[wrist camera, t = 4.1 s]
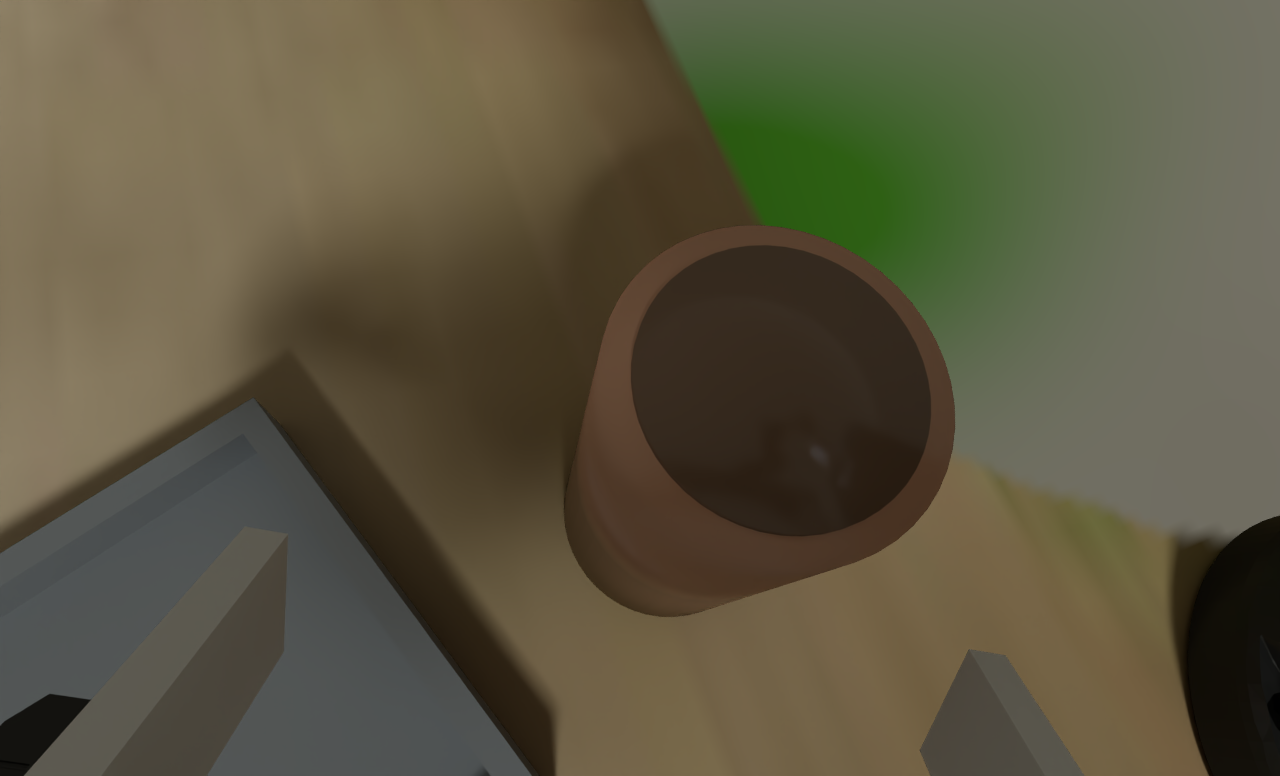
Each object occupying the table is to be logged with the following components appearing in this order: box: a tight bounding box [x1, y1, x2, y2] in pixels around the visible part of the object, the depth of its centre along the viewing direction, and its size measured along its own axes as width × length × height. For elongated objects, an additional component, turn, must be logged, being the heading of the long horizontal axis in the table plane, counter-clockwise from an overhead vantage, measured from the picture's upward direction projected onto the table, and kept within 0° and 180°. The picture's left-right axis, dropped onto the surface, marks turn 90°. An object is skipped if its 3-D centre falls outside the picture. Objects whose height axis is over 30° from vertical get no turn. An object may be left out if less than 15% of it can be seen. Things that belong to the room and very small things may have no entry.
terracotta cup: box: [564, 225, 955, 617], centre depth 19 cm, size 7×7×12 cm
